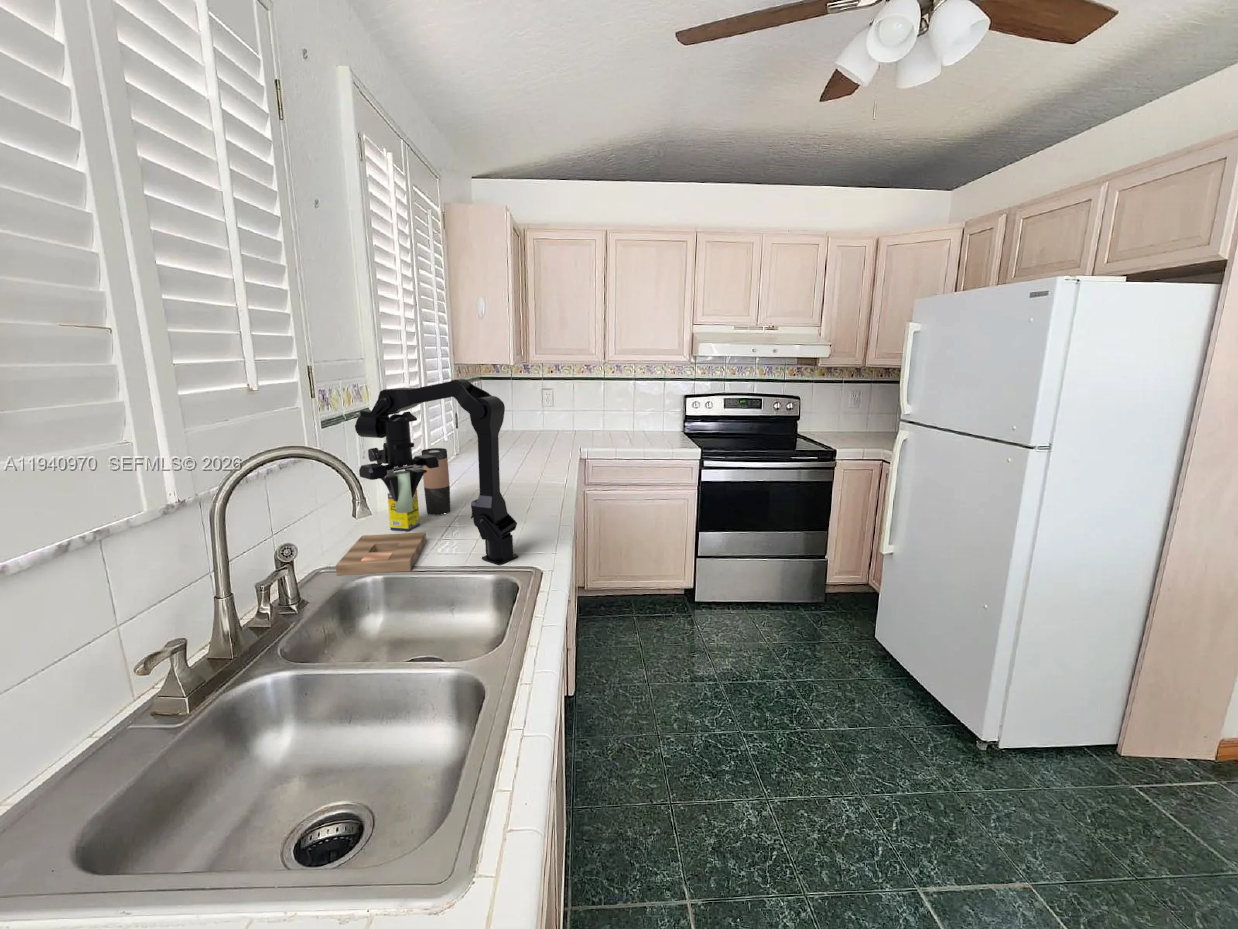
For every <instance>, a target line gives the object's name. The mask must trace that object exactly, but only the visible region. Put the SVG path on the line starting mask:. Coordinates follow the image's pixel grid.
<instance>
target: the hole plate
mask: <svg viewBox="0 0 1238 929" xmlns="http://www.w3.org/2000/svg"><path fill="white" fill-rule="evenodd" d="M426 542H427V536H426V532H425V531H424V532H407V533H406V532H405V533H403V532H402V533H386V534H367V535H366V534H365V535H361V537H359V538H358V539H357V541H356V542H355V543H354V544H353V545H352V547H350V549H348V551H347V552H346V553H345V554H344V556H342V558H341V559H340V560H339V561H337V563H336V564H335V572H336V576H338V577H339V576H349V575H351V576H352V575H368V574H369V575H371V574H381V573H383V574H385V573H399V572H400V573H401V572H410V571H412V569H413V566H414V564H415V563H416V561H417V560H418V557H419V556H418V555H420V553H421V551H422V549H423V548H424V546H425V545H426Z"/></svg>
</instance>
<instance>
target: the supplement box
mask: <svg viewBox="0 0 1238 929" xmlns="http://www.w3.org/2000/svg"><path fill="white" fill-rule="evenodd" d="M418 499H419V498H418V489H416V491H415V494H414V496H413V498H412V506H413V510H412V511H411V512H407V513H397V512H396V505H395V501H394V500H393V498H392V496H391V494H390V492H388V493H387V504H388V515H389V525H390V526H389V527H390V530H391V531H401V532H410V531H411V530H414V529H415V528H416V527H419V526H420V525H421V524H420V523H421V522H420V512H419V510H420V509H419V508H420V507H419V500H418Z"/></svg>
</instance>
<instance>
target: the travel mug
mask: <svg viewBox="0 0 1238 929" xmlns="http://www.w3.org/2000/svg"><path fill="white" fill-rule="evenodd" d="M425 454H427V455H432V456H436V457H437V458H438V460H439V467H436V468H431V469H429V468H428V467H426V465H425V466H423V467H424V470H427V472H426V473H424V474H423V476H422V478H423V489H424V498H425V507H426V513H428V514H427V515H429V514H430V516H442V515H441V514H443V515H445V514H444V513H447V514H449V513H450V512H451V489H450V488H451V487H450V473H449V472H450V470H449V461H448V450H447V448H443V447H433V448H432V447H431V448H425V449H422V450H421V455H425Z"/></svg>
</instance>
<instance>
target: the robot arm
mask: <svg viewBox="0 0 1238 929" xmlns="http://www.w3.org/2000/svg"><path fill="white" fill-rule="evenodd" d="M450 398H454V399H455V400H456V402H457V403H458V405H459V406H460V407H461V408H462V409H463V410H464V411H466V412H467V413H468V414H469V419H470V423H471V426H472V429H473V430H474V432H475V434H476V436H477V453H478V455H477V457H478V479H479V480H478V482H479V484H478V486H479V495H478V498H476V499H474V500H473V501H471V502H470V508H471V516H470V519H471V520H473V525H474V526H475V527H476V528H477V530H478V534H479V535H480V538H481V540H484V542H485V544H484V545H485V555H483V556H482V557H481V560H484V561H486V562H490V563H492V564H494V565H498V566H500V565H503V564H505V563H507V562H509V561H512V560H514V559H517V558H519V554H517V553H514V543H513V541H514V540H513V534H511V533H512V532H513V531H516V528H517V525H518V522H517V521H516V520H515V519H514V518H513V517H512V515H511V514H510V513H509V512H508V509H507V504H506V500H505V498H504V496H503V495H502V493H501V484H500V483H501V482H500V480H501V478H500V477H501V476H500V451H499V450H500V449H499V448H500V445H499V435H500V431H501V429H502V426H503V423H504V418H505V411H506V408H505V403H504V401H502V400H501V398H499V397H498V396H495V395H492V394H491V393H489V392H488V391H486V390H484V389H483V388H482V389H481V388H480V387H478V386H476V385H474V384H473V383H471V381H469V380H467V379H466V378H458V379H452V380H449V381H446V382H442V383H436V384H430V385H426V386H420V387H396V388H386V389H385V388H384V389H382V390H380V391H379V394H378V397H377V400H376V402H375V404H374V405H373V407H372V409H371V410H368V409H367V410H366V409H364V410H360V411H359V416H358V417H357V419H356V421H355V425H354V428H355V432H356V434H357V435H358V436H359V437H361V438H371V439H375V438H376V439H384V438H385V442H384V443H383V445H382V449H379V448H378V447H372V448H368V450H367V455H368V456H367V457H368V460H369V462H371V463H369V464H368V463H367V464H363V465H361V466H360V468H359V470H358V473H359V478H363V479H367V480H370V481H371V480H379V479H380V480H382V482H383V483H384V484H385V486H386V489H387V490H388V493H390V494H391V496H392V498H393V500H394V501H398V476H394V472H398V471H409V472H410V481H411V493H412V498H413V496H414V494H415V491H416V490H418V489H417V488H418V486H419V484H420V481H421V480H422V478H423V474H424V473H426V472H427V470H424V467H423V466H425V465H426V467H428V468H429V469H431V468H436V467H439V460H438V458H437V457H436V456H432V455H427V454H425V455H422V454H419V455H415V456H414V457H413V451H412V448H414V447H415V442H412V438H411V425H410V423H411V422H414V421H418V418H417V417H416V416H415V415H413V414H412V413H411V411H409V410H410V409H412V408H415V407H417V406H419V405H421V404H422V403H427V402H435V401H437V400H438V401H439V400H444V399H450ZM400 412H402V413H401V414H400ZM372 462H374V463H372ZM375 462H376V463H375ZM384 464H385V465H384Z"/></svg>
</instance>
